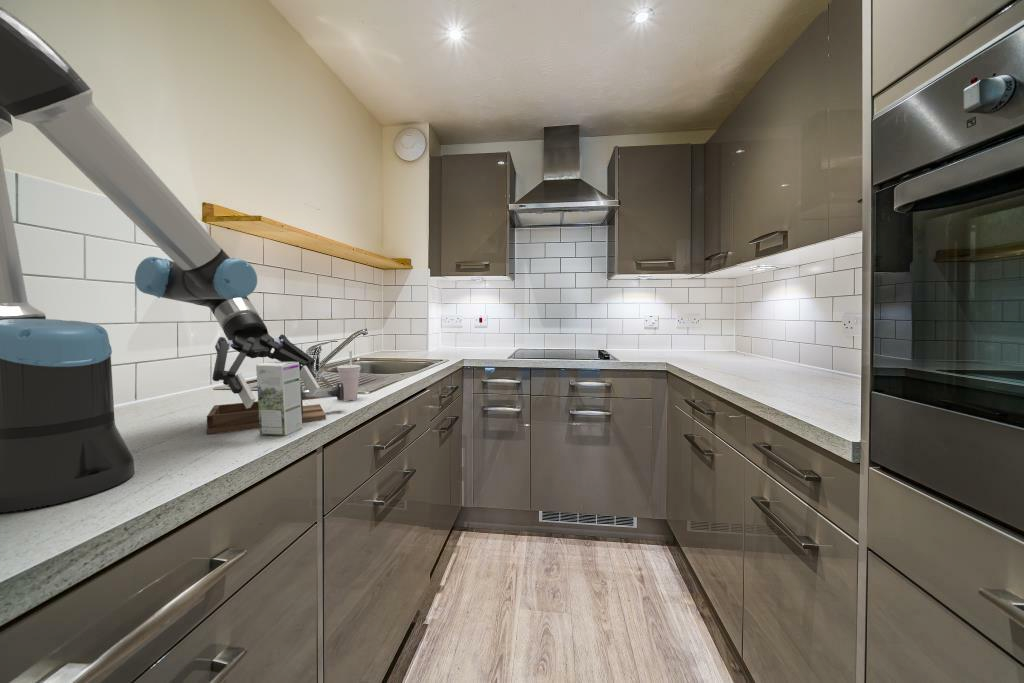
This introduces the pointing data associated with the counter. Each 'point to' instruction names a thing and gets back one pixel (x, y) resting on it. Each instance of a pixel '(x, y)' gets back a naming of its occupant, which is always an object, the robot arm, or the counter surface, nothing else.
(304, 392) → the shaft
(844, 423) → the counter surface
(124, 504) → the counter surface
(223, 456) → the counter surface
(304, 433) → the counter surface
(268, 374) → the syrup box
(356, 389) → the smoothie
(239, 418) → the jig
